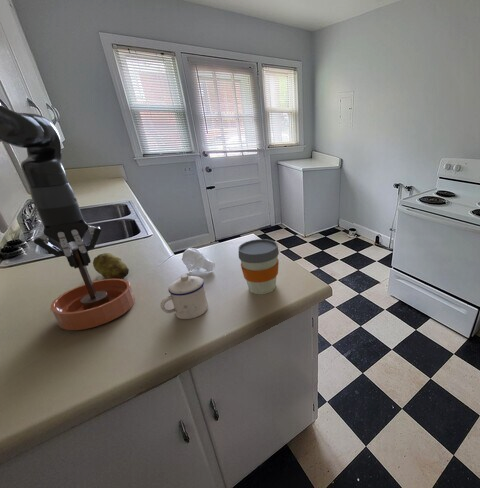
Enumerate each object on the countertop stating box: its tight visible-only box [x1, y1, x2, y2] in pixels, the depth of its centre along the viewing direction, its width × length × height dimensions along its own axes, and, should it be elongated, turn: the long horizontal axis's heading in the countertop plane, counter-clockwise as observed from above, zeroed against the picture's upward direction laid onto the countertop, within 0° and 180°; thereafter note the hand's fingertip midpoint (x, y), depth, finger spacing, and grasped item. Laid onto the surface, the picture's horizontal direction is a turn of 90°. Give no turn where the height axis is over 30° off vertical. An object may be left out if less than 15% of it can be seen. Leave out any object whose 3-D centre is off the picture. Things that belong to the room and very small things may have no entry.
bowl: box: [49, 278, 136, 331], centre depth 78 cm, size 18×18×6 cm
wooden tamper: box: [71, 247, 110, 310], centre depth 74 cm, size 6×6×18 cm
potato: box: [92, 252, 130, 279], centre depth 96 cm, size 8×13×8 cm, turn 48°
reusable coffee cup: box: [238, 238, 280, 295], centre depth 88 cm, size 12×12×15 cm
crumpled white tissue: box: [181, 247, 216, 273], centre depth 100 cm, size 6×8×12 cm
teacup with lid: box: [160, 274, 209, 320], centre depth 76 cm, size 12×9×12 cm
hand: (81, 265), depth 73 cm, fingers closed on wooden tamper, 1 cm apart
